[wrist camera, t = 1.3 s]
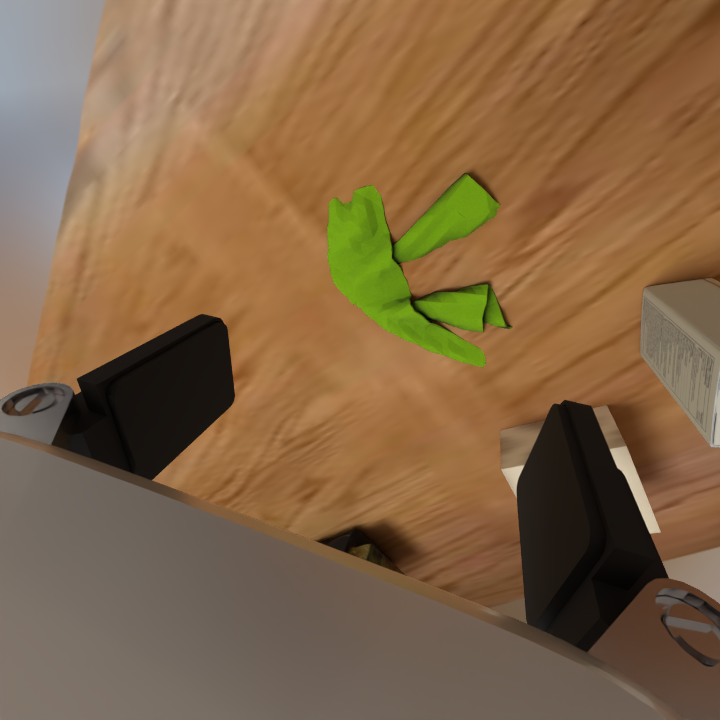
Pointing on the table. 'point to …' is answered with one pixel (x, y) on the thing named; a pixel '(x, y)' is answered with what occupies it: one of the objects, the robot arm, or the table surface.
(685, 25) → the table surface
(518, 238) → the table surface
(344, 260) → the cloth
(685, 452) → the table surface
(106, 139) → the table surface
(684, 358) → the skincare box
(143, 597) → the robot arm
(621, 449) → the maple block
